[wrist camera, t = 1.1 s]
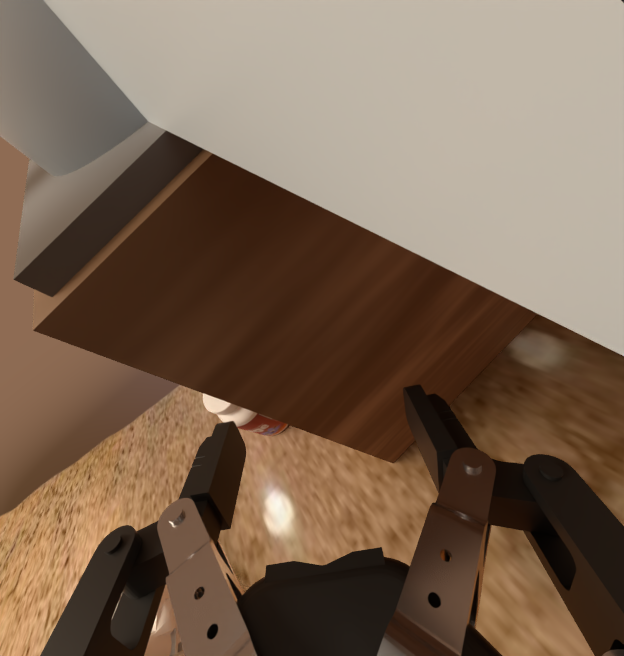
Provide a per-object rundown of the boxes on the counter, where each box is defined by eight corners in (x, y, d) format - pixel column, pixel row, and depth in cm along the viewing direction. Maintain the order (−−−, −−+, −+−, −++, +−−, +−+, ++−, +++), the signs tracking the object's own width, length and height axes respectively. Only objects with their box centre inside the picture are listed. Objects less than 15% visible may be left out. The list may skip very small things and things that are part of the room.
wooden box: (307, 367, 40) (24, 149, 15) (427, 245, 41) (358, -174, 15) (393, 463, 31) (-11, 314, 5) (549, 301, 31) (947, -622, 5)
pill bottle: (250, 432, 40) (188, 416, 31) (262, 388, 42) (208, 361, 33) (288, 440, 37) (232, 424, 28) (299, 392, 39) (250, 364, 30)
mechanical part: (145, 574, 37) (36, 602, 28) (221, 555, 34) (127, 579, 25) (133, 711, 31) (-14, 807, 21) (225, 701, 28) (101, 809, 18)
